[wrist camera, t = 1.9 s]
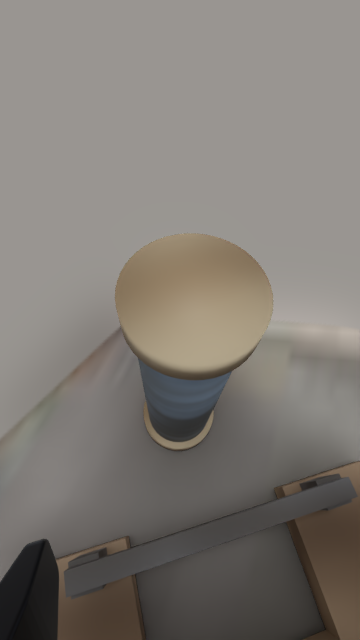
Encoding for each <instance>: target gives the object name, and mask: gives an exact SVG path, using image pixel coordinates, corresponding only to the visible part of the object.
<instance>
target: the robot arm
mask: <svg viewBox="0 0 360 640" xmlns="http://www.w3.org/2000/svg"><path fill="white" fill-rule="evenodd" d="M58 602H59V569H58V565H57V562H56V559H55V557H54V554H53V551H52V549H51V546H50V543H49V541H48V540H47V539H41V540H38V541H35V542H32V543H29V544H27V545H26V546H25V547H24V548H23V550H22V551H21V553H20V554H19V556H18V557H17V558H16V560H15V561H14V563H13V564H12V566H11V567H10V569H9V570H8V572H7V573H6V575H5V576H4V577H3V579H2V580H1V582H0V640H57V638H58Z"/></svg>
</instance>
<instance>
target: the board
mask: <svg viewBox="0 0 360 640" xmlns="http://www.w3.org/2000/svg"><path fill="white" fill-rule="evenodd" d="M274 490H275V493H276V496H277V498H278V499H276V500H273V501H270V502H267V503H264V504H261V505H258V506H255V507H252V508H249V509H246V510H243V511H240V512H237V513H234V514H231V515H228V516H225V517H222V518H219V519H216V520H213V521H210V522H207V523H204V524H201V525H198V526H195V527H192V528H189V529H186V530H183V531H180V532H177V533H174V534H171V535H168V536H165V537H162V538H159V539H156V540H153V541H150V542H147V543H144V544H141V545H138V546H135V547H132V548H131V547H130V541H129V536H126V537H122V538H119V539H116V540H113V541H110V542H107V543H104V544H101V545H98V546H95V547H92V548H89V549H86V550H82V551H79V552H76V553H73V554H70V555H67V556H64V557H61V558H58V559H56V562H57V565H58V569H59V602H58V638H57V640H146V636H145V630H144V625H143V619H142V613H141V607H140V601H139V595H138V589H137V583H136V577H135V574H136V573H139V572H142V571H145V570H148V569H151V568H154V567H157V566H159V565H162V564H165V563H168V562H171V561H174V560H177V559H180V558H183V557H185V556H188V555H191V554H194V553H197V552H200V551H203V550H206V549H209V548H211V547H214V546H217V545H220V544H223V543H226V542H229V541H232V540H235V539H238V538H240V537H243V536H246V535H249V534H252V533H255V532H258V531H261V530H264V529H266V528H269V527H272V526H275V525H278V524H281V523H284V522H286V523H287V525H288V528H289V531H290V534H291V536H292V539H293V542H294V544H295V547H296V550H297V553H298V555H299V558H300V561H301V563H302V566H303V569H304V572H305V574H306V577H307V580H308V582H309V585H310V588H311V590H312V593H313V596H314V599H315V601H316V604H317V607H318V609H319V612H320V615H321V618H322V620H323V623H324V626H325V628H326V630H324V631H322V632H319V633H317V634H314V635H312V636H310V637H307V638H305V639H302V640H360V461H357V462H353V463H350V464H347V465H344V466H341V467H338V468H335V469H332V470H329V471H325V472H322V473H319V474H316V475H313V476H310V477H307V478H304V479H301V480H298V481H295V482H292V483H289V484H285V485H282V486H279V487H276V488H274Z"/></svg>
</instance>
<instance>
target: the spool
mask: <svg viewBox="0 0 360 640" xmlns="http://www.w3.org/2000/svg"><path fill="white" fill-rule="evenodd" d="M115 302H116V309H117V313H118V316H119V321H120V325H121V329H122V332H123V335H124V338H125V340H126V342H127V344H128V345H129V347H130V349H131V350H132V351H133V353H134V354H135V355H136V356H137V357H138V360H139V365H140V370H141V376H142V381H143V387H144V392H145V397H146V401H145V404H144V421H145V425H146V428H147V431H148V433H149V434H150V436H151V437H152V439H153V440H154V441H155V442H156V443H157V444H159V445H160V446H162V447H164V448H166V449H169V450H173V451H183V450H187V449H190V448H192V447H194V446H196V445H197V444H199V443H200V442H201V441H202V440H203V439H204V438H205V436H206V435H207V433H208V431H209V429H210V427H211V425H212V421H213V409H214V407H215V405H216V403H217V401H218V399H219V396H220V394H221V392H222V390H223V388H224V386H225V384H226V382H227V380H228V378H229V376H230V374H231V372H232V371H233V370H234V369H236V368H237V367H239V366H240V365H241V364H243V363H244V362H245V361H246V360H247V359H248V358H249V357H250V355H251V354H252V353H253V351H254V350H255V348H256V347H257V345H258V343H259V341H260V340H261V338H262V336H263V334H264V333H265V331H266V329H267V327H268V325H269V322H270V320H271V316H272V311H273V293H272V290H271V285H270V283H269V280H268V278H267V276H266V274H265V272H264V271H263V269H262V268H261V267H260V265H259V264H258V262H257V261H256V260H255V259H254V258H253V257H252V256H251V255H249V254H248V253H247V252H246V251H244V250H243V249H241V248H240V247H238V246H237V245H235V244H232V243H230V242H229V241H226V240H224V239H221V238H217V237H214V236H210V235H204V234H177V235H172V236H167V237H164V238H161V239H158V240H156V241H153V242H151V243H149V244H148V245H146V246H144V247H143V248H141V249H140V250H139V251H137V252H136V253H135V254H134V255H133V256H132V257H131V258H130V259H129V260H128V262H127V263H126V264H125V266H124V267H123V269H122V271H121V273H120V276H119V278H118V280H117V285H116V290H115Z"/></svg>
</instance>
